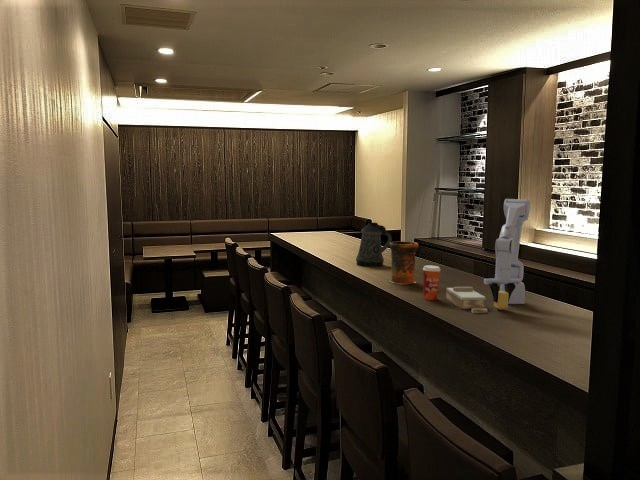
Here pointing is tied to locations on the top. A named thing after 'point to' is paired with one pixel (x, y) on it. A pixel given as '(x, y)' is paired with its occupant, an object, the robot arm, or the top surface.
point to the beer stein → (372, 245)
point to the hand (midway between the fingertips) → (501, 301)
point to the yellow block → (502, 300)
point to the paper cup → (431, 282)
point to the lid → (466, 293)
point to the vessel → (403, 261)
